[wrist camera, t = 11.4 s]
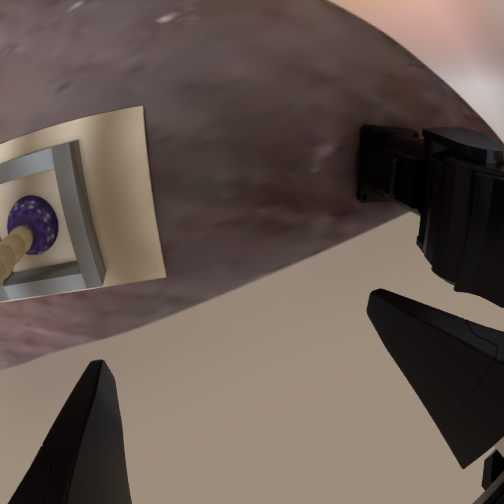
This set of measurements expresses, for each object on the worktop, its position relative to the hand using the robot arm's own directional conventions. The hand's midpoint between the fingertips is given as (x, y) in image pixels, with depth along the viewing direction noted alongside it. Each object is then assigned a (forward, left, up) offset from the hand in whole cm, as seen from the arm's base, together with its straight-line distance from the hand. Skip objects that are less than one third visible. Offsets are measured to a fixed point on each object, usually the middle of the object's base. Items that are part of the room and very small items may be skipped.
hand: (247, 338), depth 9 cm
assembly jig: (+12, -1, -13) cm, 18 cm away
